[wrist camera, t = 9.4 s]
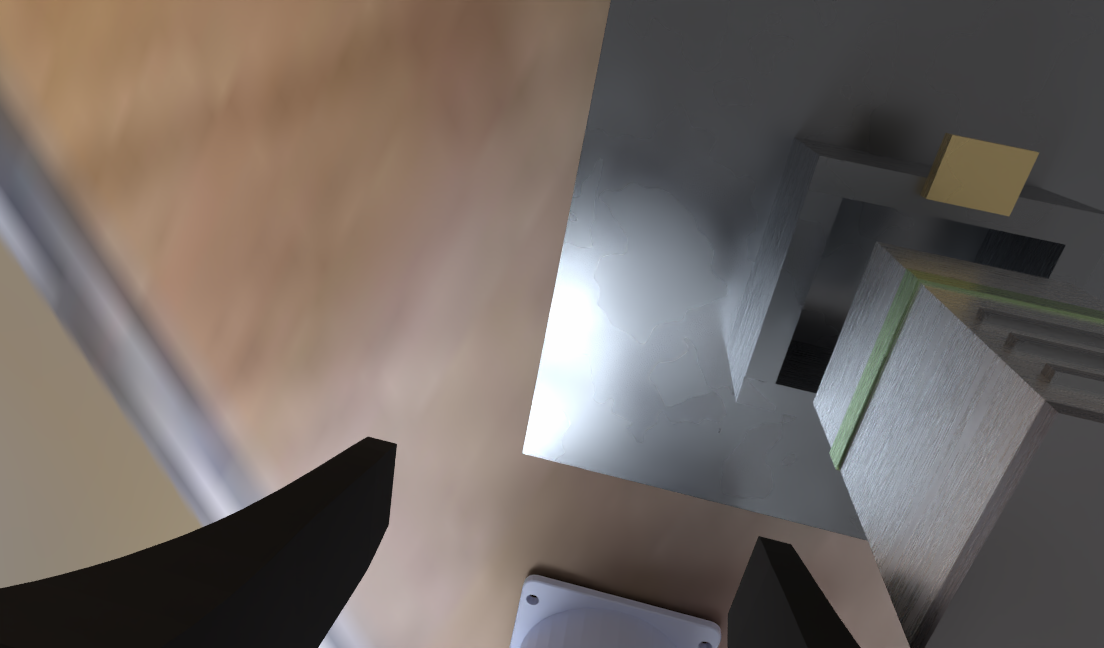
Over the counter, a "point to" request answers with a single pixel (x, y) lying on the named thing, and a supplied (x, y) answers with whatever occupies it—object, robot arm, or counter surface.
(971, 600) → the column
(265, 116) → the counter surface
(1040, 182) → the stand base
